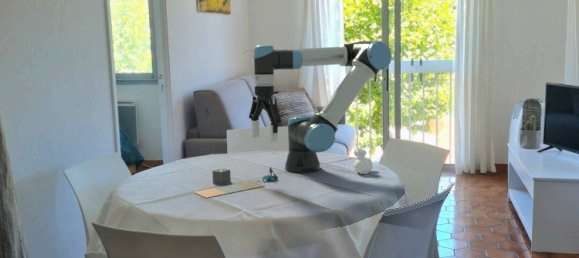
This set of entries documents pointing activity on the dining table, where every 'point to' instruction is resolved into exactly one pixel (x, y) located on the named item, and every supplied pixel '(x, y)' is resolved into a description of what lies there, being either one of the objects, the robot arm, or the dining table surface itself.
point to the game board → (228, 189)
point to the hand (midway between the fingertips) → (264, 139)
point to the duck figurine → (362, 162)
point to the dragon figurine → (269, 177)
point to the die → (221, 176)
